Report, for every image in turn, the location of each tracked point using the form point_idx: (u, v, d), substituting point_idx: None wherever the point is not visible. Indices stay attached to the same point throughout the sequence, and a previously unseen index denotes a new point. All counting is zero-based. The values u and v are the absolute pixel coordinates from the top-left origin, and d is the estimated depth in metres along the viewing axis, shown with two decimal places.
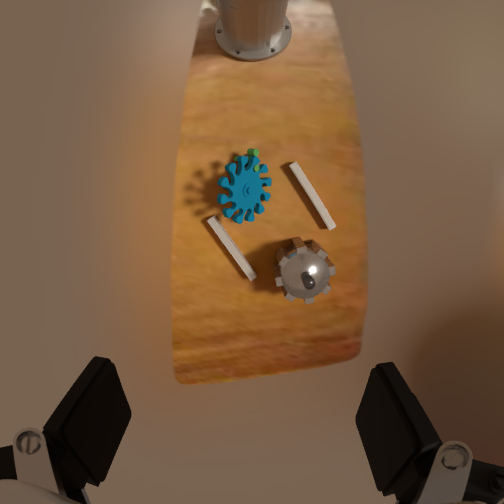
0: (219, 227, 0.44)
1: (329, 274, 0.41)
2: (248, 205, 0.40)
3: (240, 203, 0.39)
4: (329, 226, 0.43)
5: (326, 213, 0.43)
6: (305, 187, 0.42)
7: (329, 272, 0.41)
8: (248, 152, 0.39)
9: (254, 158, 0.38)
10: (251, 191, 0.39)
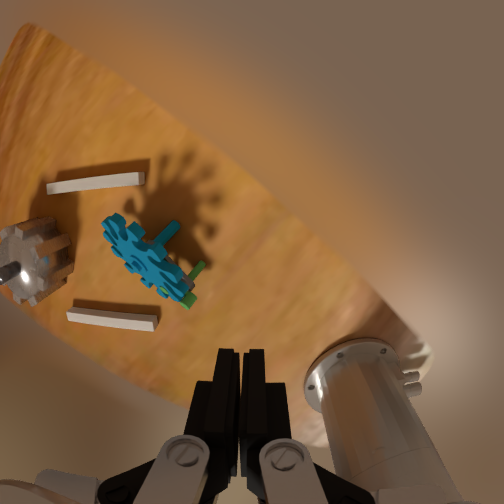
0: (120, 184, 0.24)
1: (14, 293, 0.23)
2: (120, 247, 0.23)
3: (124, 244, 0.22)
4: (70, 314, 0.28)
5: (83, 320, 0.28)
6: (119, 320, 0.28)
7: (15, 294, 0.23)
8: (192, 295, 0.25)
9: (176, 299, 0.24)
10: (133, 267, 0.23)
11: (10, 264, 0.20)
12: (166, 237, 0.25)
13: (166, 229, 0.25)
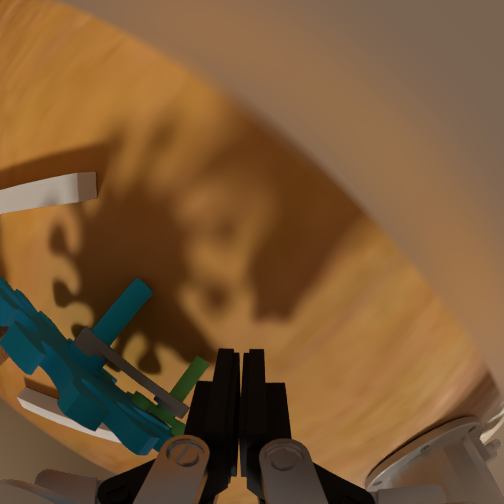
0: (46, 201, 0.10)
1: None
2: None
3: None
4: (22, 400, 0.14)
5: (41, 413, 0.14)
6: None
7: None
8: None
9: None
10: None
11: None
12: (121, 320, 0.10)
13: (120, 302, 0.11)
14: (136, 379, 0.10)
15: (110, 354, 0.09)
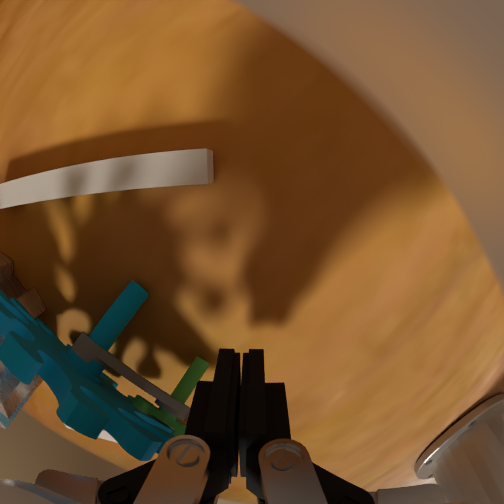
0: (151, 181, 0.09)
1: None
2: None
3: None
4: None
5: None
6: None
7: None
8: None
9: None
10: None
11: None
12: (118, 324, 0.10)
13: (116, 305, 0.10)
14: (136, 383, 0.10)
15: (109, 359, 0.09)
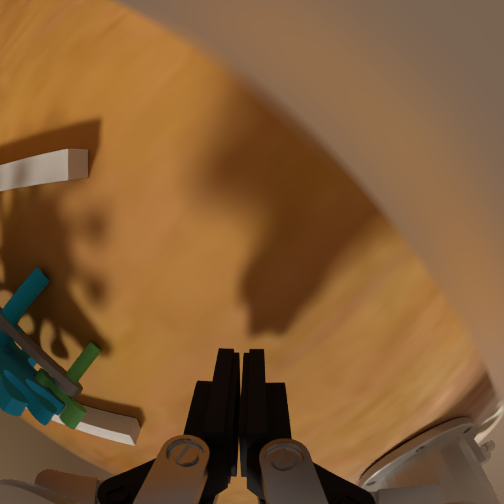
0: (34, 179, 0.08)
1: None
2: None
3: None
4: None
5: None
6: None
7: None
8: (75, 410, 0.10)
9: None
10: None
11: None
12: (22, 303, 0.10)
13: (21, 286, 0.10)
14: (31, 355, 0.09)
15: (11, 331, 0.09)
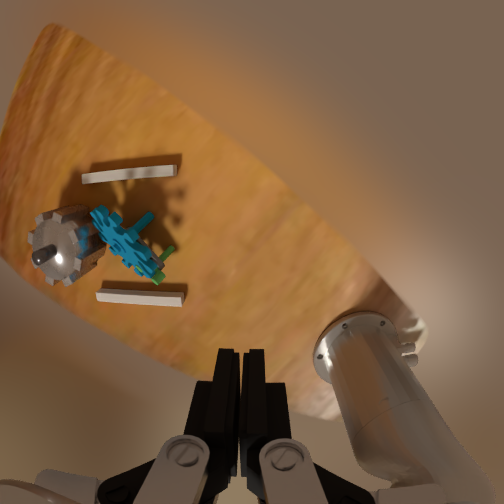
0: (156, 175, 0.28)
1: (47, 275, 0.27)
2: (105, 232, 0.28)
3: (107, 229, 0.27)
4: (99, 294, 0.32)
5: (113, 300, 0.33)
6: (148, 297, 0.32)
7: (48, 276, 0.27)
8: (161, 273, 0.30)
9: (148, 275, 0.29)
10: (114, 249, 0.28)
11: (47, 247, 0.25)
12: (142, 225, 0.29)
13: (142, 218, 0.30)
14: None
15: None
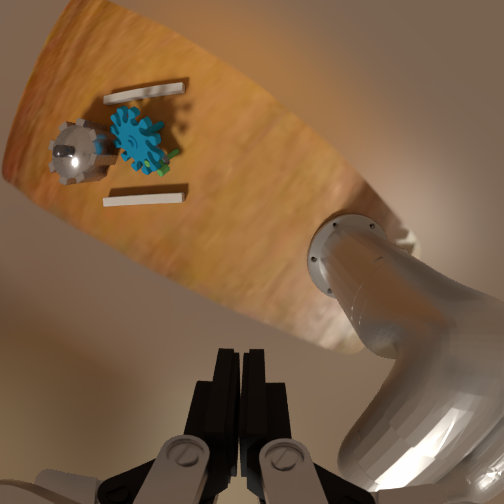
0: (167, 90, 0.31)
1: (61, 176, 0.30)
2: (121, 133, 0.31)
3: (124, 127, 0.30)
4: (106, 199, 0.35)
5: (119, 203, 0.36)
6: (152, 196, 0.35)
7: (62, 176, 0.30)
8: (166, 166, 0.33)
9: (155, 167, 0.32)
10: (128, 144, 0.31)
11: (67, 145, 0.28)
12: (153, 129, 0.32)
13: (153, 125, 0.33)
14: None
15: None
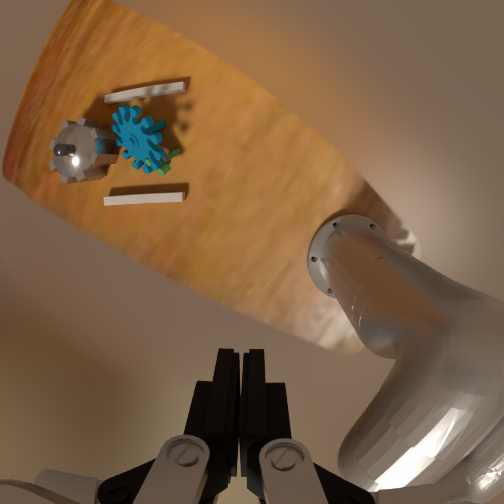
0: (168, 89, 0.31)
1: (62, 174, 0.30)
2: (122, 132, 0.31)
3: (126, 126, 0.30)
4: (107, 198, 0.35)
5: (119, 202, 0.36)
6: (152, 195, 0.35)
7: (63, 175, 0.30)
8: (167, 165, 0.33)
9: (156, 166, 0.32)
10: (129, 143, 0.31)
11: (68, 144, 0.28)
12: (155, 128, 0.32)
13: (155, 124, 0.33)
14: None
15: None
